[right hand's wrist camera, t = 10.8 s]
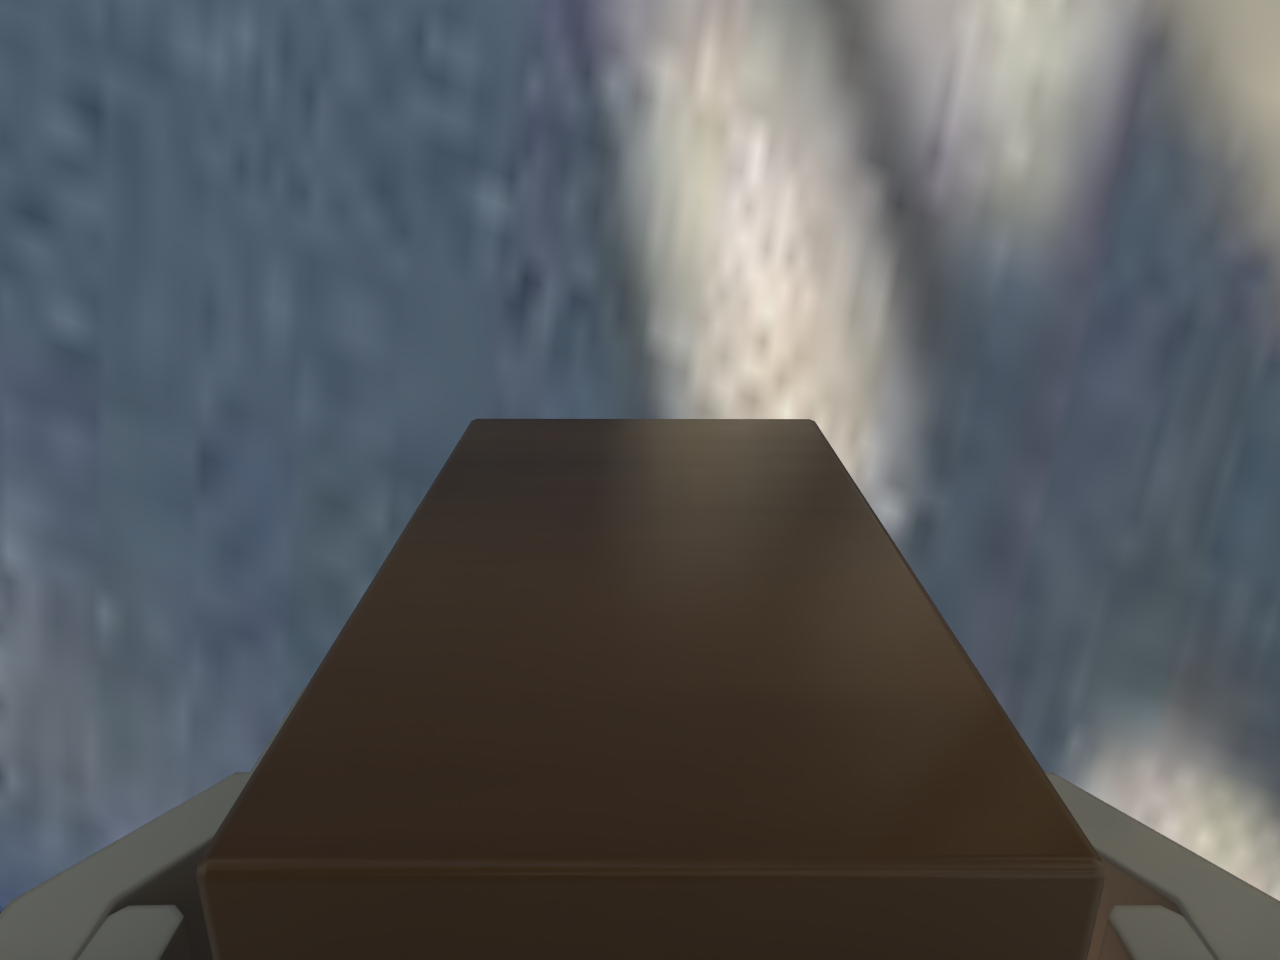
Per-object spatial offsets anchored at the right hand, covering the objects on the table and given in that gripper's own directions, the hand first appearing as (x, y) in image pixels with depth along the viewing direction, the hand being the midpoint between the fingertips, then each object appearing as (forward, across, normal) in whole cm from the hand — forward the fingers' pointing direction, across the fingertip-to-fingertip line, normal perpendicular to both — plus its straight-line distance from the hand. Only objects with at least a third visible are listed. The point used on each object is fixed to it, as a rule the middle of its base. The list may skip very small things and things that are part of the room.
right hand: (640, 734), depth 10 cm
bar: (+3, 0, +9) cm, 10 cm away
